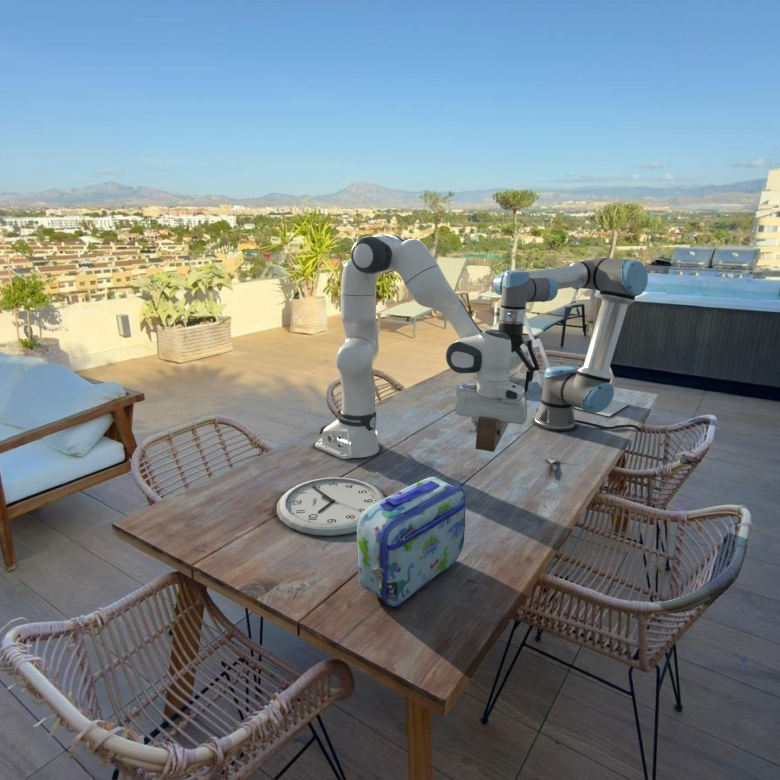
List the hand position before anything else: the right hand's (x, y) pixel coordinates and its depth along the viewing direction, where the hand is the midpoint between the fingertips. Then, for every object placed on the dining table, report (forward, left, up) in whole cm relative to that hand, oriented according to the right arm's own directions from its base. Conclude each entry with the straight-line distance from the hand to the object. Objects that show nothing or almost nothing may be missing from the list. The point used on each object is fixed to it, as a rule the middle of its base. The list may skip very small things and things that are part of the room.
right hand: (504, 387), depth 168 cm
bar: (+3, +11, -12) cm, 16 cm away
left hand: (+6, +20, -8) cm, 22 cm away
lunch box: (+24, +67, -24) cm, 75 cm away
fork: (-16, +5, -24) cm, 30 cm away
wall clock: (+48, +39, -24) cm, 66 cm away
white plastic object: (-11, -88, -24) cm, 92 cm away
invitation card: (-48, -60, -24) cm, 81 cm away
